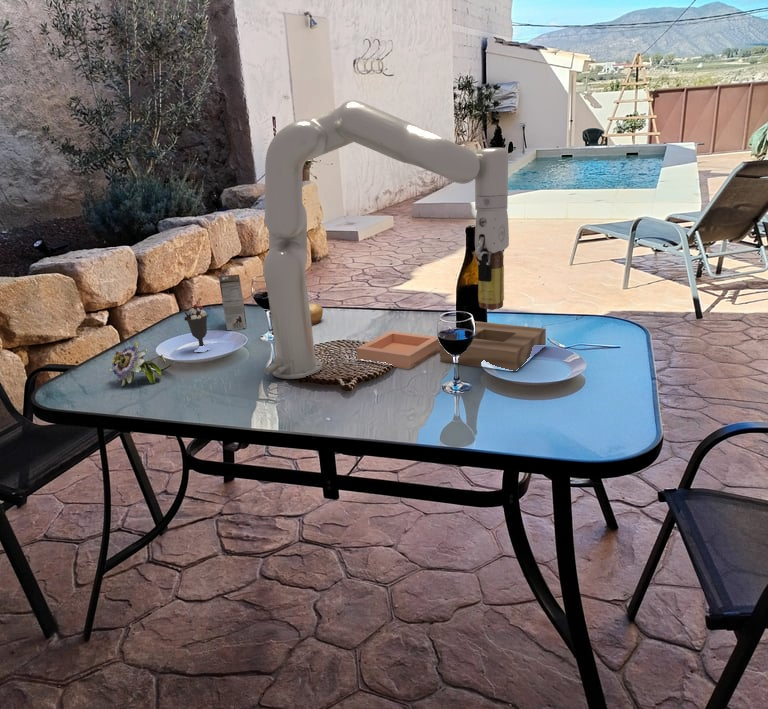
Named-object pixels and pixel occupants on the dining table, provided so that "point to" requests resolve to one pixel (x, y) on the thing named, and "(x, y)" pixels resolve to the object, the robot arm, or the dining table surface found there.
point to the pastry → (315, 313)
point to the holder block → (499, 345)
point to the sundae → (197, 322)
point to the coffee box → (232, 302)
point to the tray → (399, 349)
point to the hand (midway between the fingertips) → (490, 277)
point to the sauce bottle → (493, 284)
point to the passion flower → (133, 365)
